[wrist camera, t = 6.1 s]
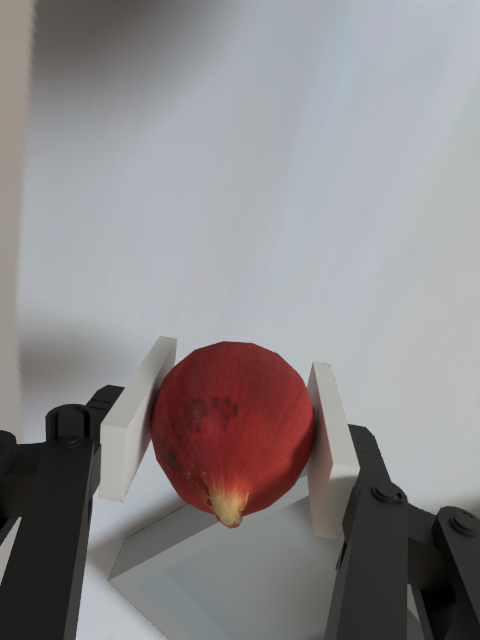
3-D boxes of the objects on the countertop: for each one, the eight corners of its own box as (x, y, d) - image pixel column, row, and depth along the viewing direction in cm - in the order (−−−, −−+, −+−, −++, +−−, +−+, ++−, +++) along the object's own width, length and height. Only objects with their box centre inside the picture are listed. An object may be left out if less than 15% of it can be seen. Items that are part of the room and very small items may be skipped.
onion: (159, 404, 19) (89, 554, 12) (199, 293, 17) (145, 389, 10) (275, 446, 20) (279, 617, 12) (327, 342, 18) (370, 471, 10)
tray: (124, 539, 37) (107, 581, 33) (314, 433, 32) (319, 467, 28) (256, 670, 41) (254, 719, 38) (440, 595, 36) (460, 643, 33)
